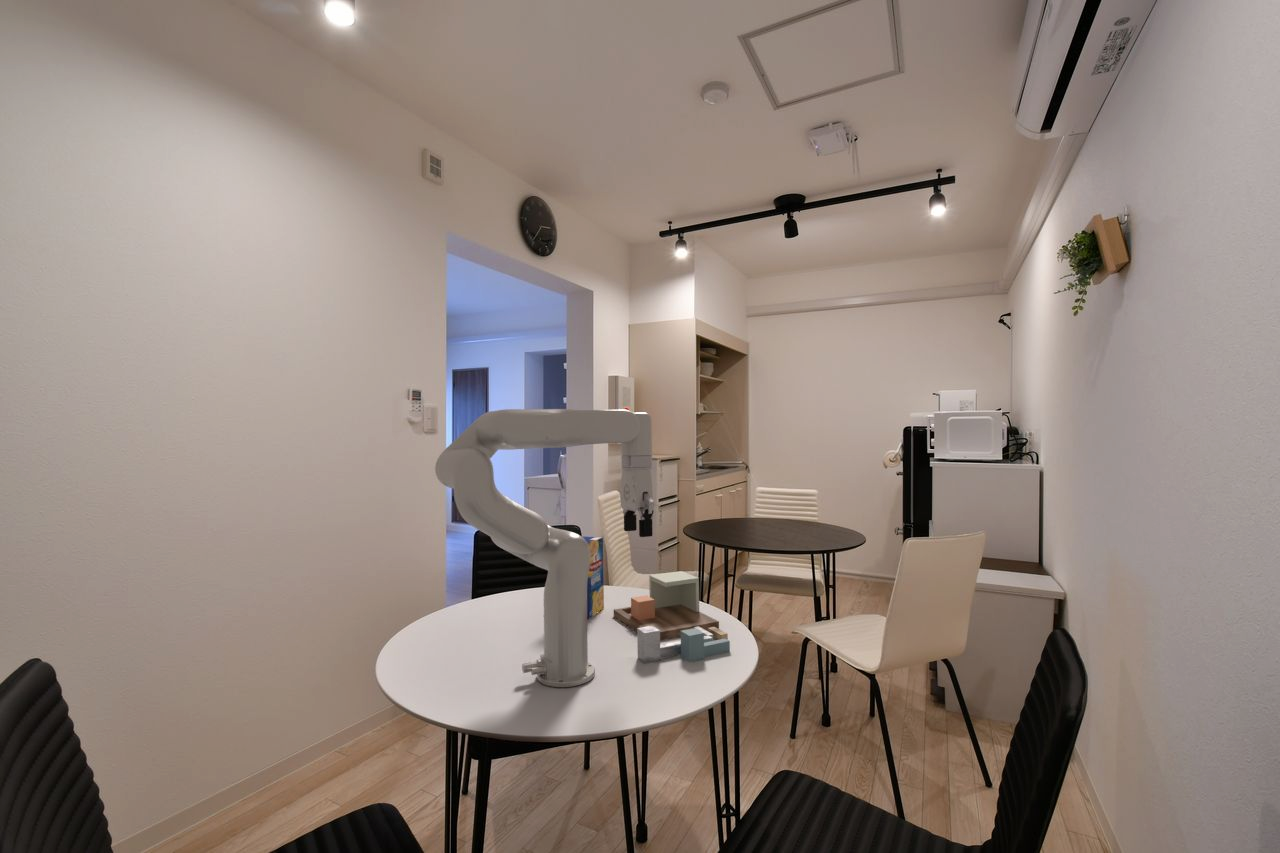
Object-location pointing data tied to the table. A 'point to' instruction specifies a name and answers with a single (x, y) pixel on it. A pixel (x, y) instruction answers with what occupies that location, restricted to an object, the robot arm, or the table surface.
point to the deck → (668, 620)
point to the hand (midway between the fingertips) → (637, 533)
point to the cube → (642, 607)
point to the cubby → (675, 590)
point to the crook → (651, 644)
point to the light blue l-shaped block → (700, 645)
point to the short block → (717, 633)
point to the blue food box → (595, 576)
